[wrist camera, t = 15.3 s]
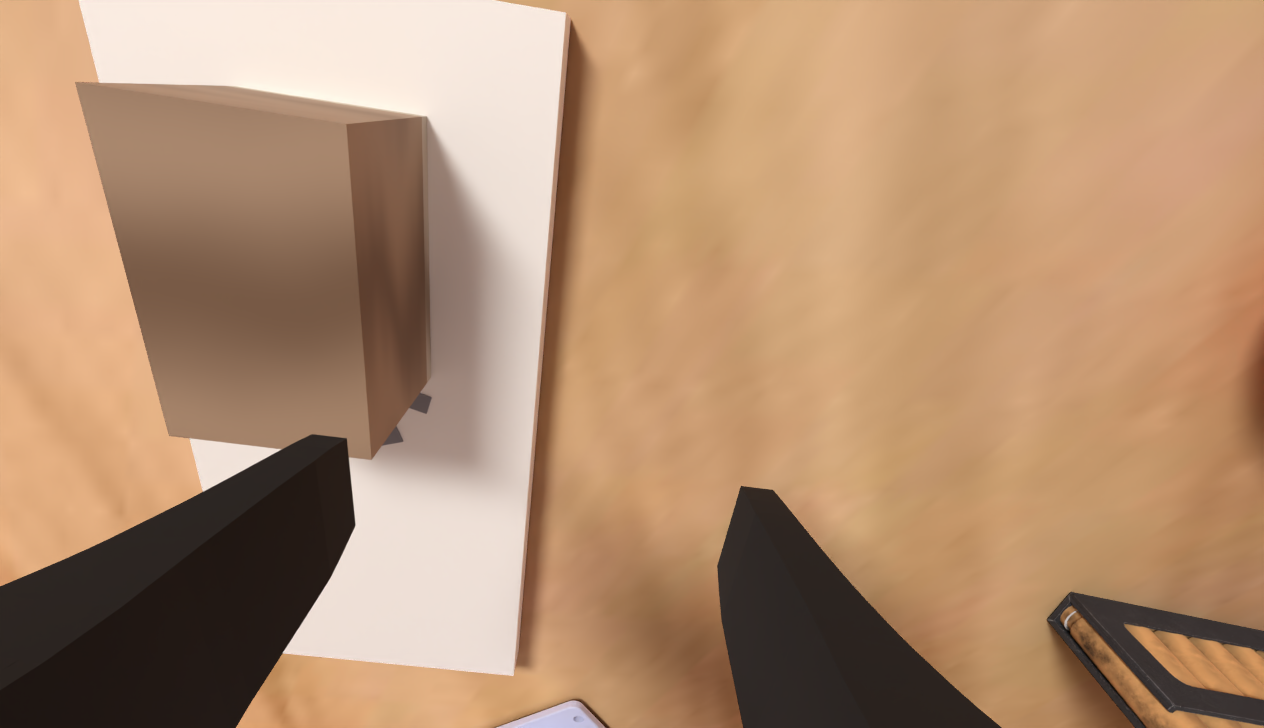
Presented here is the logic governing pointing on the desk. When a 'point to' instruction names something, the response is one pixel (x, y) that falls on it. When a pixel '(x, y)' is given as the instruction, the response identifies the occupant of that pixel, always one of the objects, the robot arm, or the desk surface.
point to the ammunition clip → (1167, 663)
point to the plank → (459, 291)
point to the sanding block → (270, 257)
